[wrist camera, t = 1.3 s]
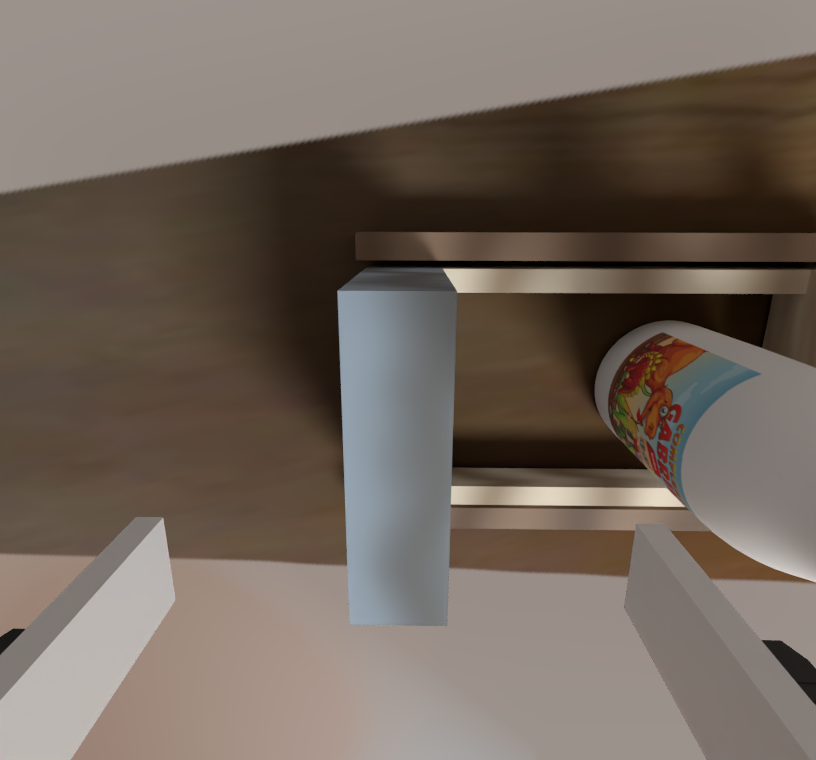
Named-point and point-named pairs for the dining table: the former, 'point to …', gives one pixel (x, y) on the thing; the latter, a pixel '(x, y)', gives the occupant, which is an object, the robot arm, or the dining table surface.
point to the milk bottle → (721, 434)
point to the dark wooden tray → (581, 249)
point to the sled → (434, 407)
